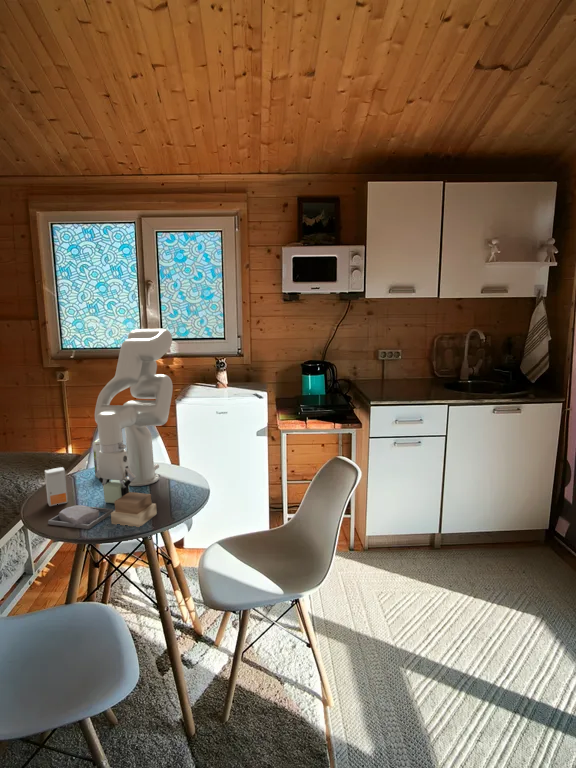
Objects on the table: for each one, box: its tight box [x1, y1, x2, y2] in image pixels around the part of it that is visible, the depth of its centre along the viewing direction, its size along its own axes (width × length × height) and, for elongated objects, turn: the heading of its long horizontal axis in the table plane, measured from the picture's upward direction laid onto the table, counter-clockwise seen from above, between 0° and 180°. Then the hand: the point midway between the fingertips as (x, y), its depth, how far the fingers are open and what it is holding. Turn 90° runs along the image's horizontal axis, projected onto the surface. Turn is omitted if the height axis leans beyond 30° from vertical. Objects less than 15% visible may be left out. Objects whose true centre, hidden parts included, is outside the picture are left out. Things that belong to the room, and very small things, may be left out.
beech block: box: [110, 502, 158, 528], centre depth 162 cm, size 10×10×4 cm
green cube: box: [102, 480, 131, 504], centre depth 177 cm, size 6×6×6 cm
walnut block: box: [113, 491, 153, 514], centre depth 162 cm, size 8×8×4 cm
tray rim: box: [47, 504, 114, 530], centre depth 164 cm, size 12×15×1 cm
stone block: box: [58, 504, 100, 528], centre depth 164 cm, size 12×5×10 cm
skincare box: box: [44, 466, 69, 507], centre depth 176 cm, size 6×4×12 cm
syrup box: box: [92, 438, 100, 478], centre depth 204 cm, size 6×6×14 cm
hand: (117, 495), depth 177 cm, fingers closed on green cube, 6 cm apart
